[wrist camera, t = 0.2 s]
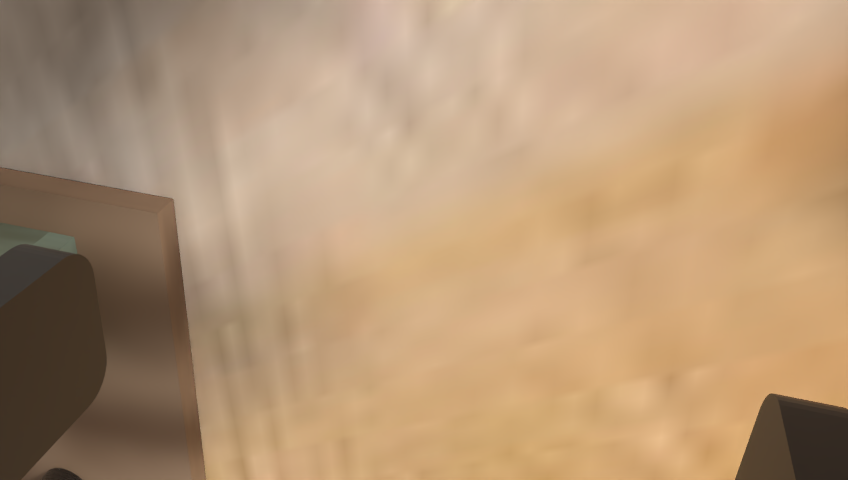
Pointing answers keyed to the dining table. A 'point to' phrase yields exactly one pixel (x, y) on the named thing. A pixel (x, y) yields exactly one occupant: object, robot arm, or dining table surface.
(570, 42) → the dining table surface
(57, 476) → the metal post
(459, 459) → the dining table surface
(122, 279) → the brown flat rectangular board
